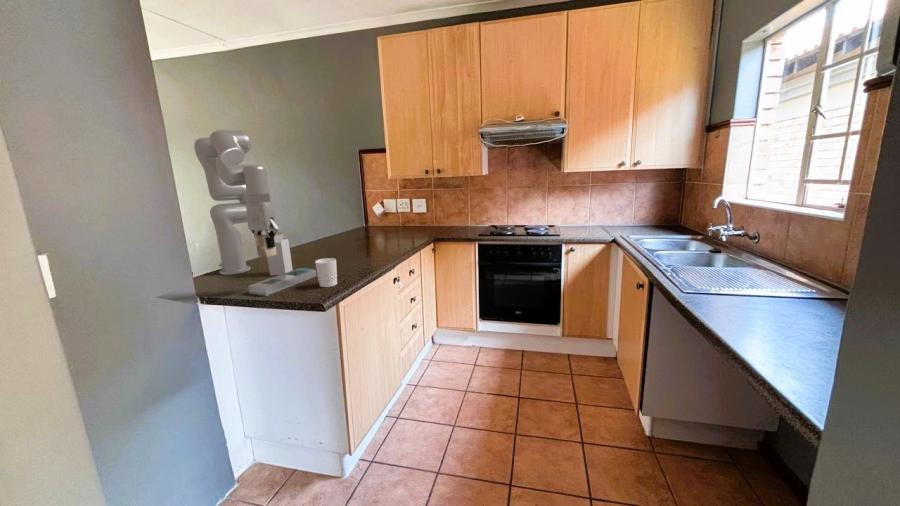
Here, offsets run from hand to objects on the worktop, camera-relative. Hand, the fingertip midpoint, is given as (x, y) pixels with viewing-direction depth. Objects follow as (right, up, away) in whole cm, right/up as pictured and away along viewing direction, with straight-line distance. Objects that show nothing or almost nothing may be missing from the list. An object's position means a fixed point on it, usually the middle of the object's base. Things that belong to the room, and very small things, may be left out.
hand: (266, 246), depth 138 cm
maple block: (0, -3, +1) cm, 3 cm away
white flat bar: (+3, -15, +9) cm, 18 cm away
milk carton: (-6, -12, +26) cm, 29 cm away
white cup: (+22, -15, +7) cm, 27 cm away
